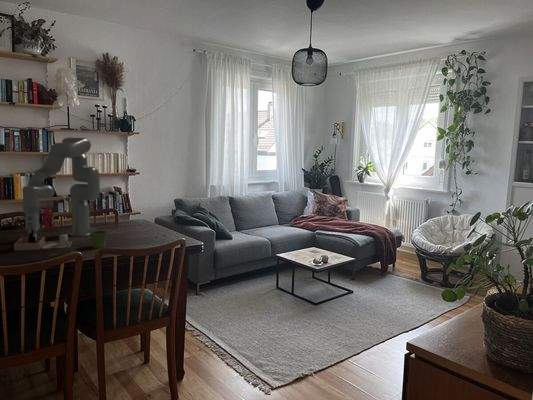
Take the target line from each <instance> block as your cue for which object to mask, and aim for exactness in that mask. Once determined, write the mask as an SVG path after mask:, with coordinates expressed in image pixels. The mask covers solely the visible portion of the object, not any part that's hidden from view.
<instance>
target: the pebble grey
mask: <svg viewBox="0 0 533 400" xmlns="http://www.w3.org/2000/svg"><path fill="white" fill-rule="evenodd" d="M59 241H60V246H67V245H68V241H69V234H67V233H66V234H63V233H62V234H59Z"/></svg>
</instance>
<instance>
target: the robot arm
mask: <svg viewBox="0 0 533 400" xmlns="http://www.w3.org/2000/svg"><path fill="white" fill-rule="evenodd" d="M91 148H92V144H91V141H90V140H89V139H88V138H86V137H75V136H73V137H64V138H63V139H62V141H61V142H55V143H54V144H52V145H51V147H50V149H49V152H48V155H47V157H46V159H45V161H44V164H42V166H41V167H40V168H39V169H37V170H36V171H35V172H34V173H33V174H32V175H31V177H30V178H29V180H28V183H27V184H26V185H24V186H23V187H22V192H21V193H22V210H23V213H24V214H25V231H26V232H27V237H28V243H35V236H34V234H37V233H38V232H37V231H39V229H40V216H39V212H40V211H41V210H40V199H44V200H45V199H50V198H52V197H53V196H54V195H55V189H54V187H53V186H52V185H49V184H42V183H43V181H45V180H46V179H47V178H49V177H51V176H53V175H56V174H57V173H60V172H61V170H62V167H63V164H64V161H65V159H71V169H72V170H71V171H72V174H71V175H72V179H73V181H75V182H80V183H75V184H73V185H71V187H70V189H69V196H70V199H71V211H72V232H70V236H72V237H87V236H88V237H89V236H90V234H89V232H91V231H98V228H96V227H91V226H90V204H89V202H88V201H95V200H97V199H99V197H100V190H101V189H100V188H101V187H100V186H101V184H100V182H101V181H100V180H101V179H100V177H101V176H100V172H99V170H98V169H97V168H96V167H95V166H89V165H88V158H87V154H86V153H88V152H89V151H90V149H91ZM81 182H82V183H81ZM40 213H41V212H40ZM37 235H38V234H37Z"/></svg>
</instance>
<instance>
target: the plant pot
mask: <svg viewBox="0 0 533 400" xmlns="http://www.w3.org/2000/svg"><path fill="white" fill-rule="evenodd" d="M89 234H90V235H89V236H90V238H91V244H92V245H91V246H92V247H93V248H94V249H103V248H104V249H105V248H106V242H107V241H106V240H107V235H108V231H107V230H97V231H91V232H89Z"/></svg>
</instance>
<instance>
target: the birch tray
mask: <svg viewBox="0 0 533 400" xmlns="http://www.w3.org/2000/svg"><path fill="white" fill-rule="evenodd" d="M72 243H73V240H68V245H67V246H60V240H59V241H45V243H44V245H43V246H42V247H41V249H40V250H50V249H51V250H52V249H70V248H71V245H72Z"/></svg>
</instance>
